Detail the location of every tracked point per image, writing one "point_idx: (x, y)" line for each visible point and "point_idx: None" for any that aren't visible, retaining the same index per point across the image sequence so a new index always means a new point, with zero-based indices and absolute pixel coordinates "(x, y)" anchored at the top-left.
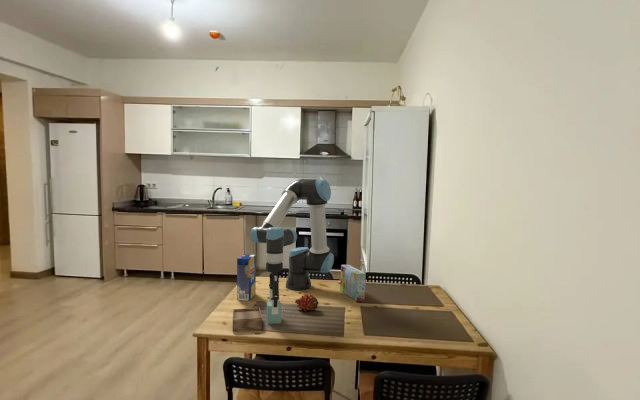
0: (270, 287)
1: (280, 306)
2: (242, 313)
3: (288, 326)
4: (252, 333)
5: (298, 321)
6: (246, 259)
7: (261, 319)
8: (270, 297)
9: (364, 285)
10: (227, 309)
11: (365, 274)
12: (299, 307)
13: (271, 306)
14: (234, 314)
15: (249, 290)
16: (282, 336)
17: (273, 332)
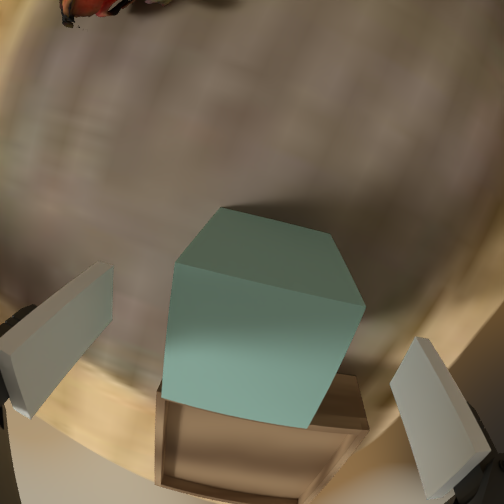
0: (7, 436)
1: (359, 311)
2: (203, 464)
3: (413, 207)
4: (376, 416)
5: (361, 90)
6: None
7: (366, 420)
8: (78, 349)
9: None
10: (47, 408)
11: None
12: (168, 2)
13: (321, 401)
14: (205, 485)
15: None
16: (497, 296)
17: (434, 328)
